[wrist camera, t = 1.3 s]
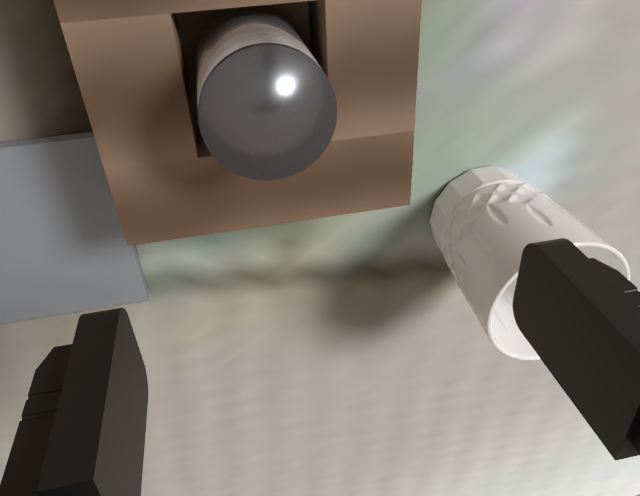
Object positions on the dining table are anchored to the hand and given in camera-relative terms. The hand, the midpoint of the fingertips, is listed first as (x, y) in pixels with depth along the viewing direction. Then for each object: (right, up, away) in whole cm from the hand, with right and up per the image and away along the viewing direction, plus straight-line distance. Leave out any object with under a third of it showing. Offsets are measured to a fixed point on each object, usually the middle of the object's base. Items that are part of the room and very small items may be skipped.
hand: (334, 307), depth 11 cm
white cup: (+10, +4, +26) cm, 28 cm away
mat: (-16, +2, +20) cm, 26 cm away
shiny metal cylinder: (-4, +10, +15) cm, 19 cm away
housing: (-4, +11, +17) cm, 21 cm away
